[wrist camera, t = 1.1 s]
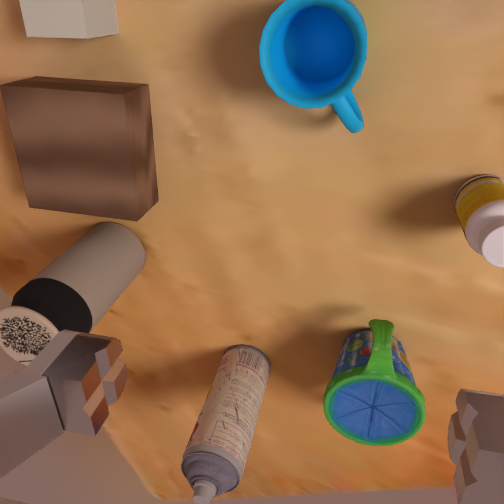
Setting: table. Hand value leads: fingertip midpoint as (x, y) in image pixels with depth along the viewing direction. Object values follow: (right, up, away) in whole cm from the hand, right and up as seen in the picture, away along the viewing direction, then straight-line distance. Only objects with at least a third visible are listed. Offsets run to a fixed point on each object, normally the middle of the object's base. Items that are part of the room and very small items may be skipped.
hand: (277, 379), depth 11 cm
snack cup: (+15, -9, +46) cm, 49 cm away
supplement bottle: (+22, +8, +34) cm, 41 cm away
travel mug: (-18, +4, +47) cm, 50 cm away
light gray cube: (-17, +28, +33) cm, 46 cm away
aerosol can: (-1, -12, +52) cm, 53 cm away
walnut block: (-18, +16, +40) cm, 47 cm away
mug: (+7, +21, +31) cm, 38 cm away
